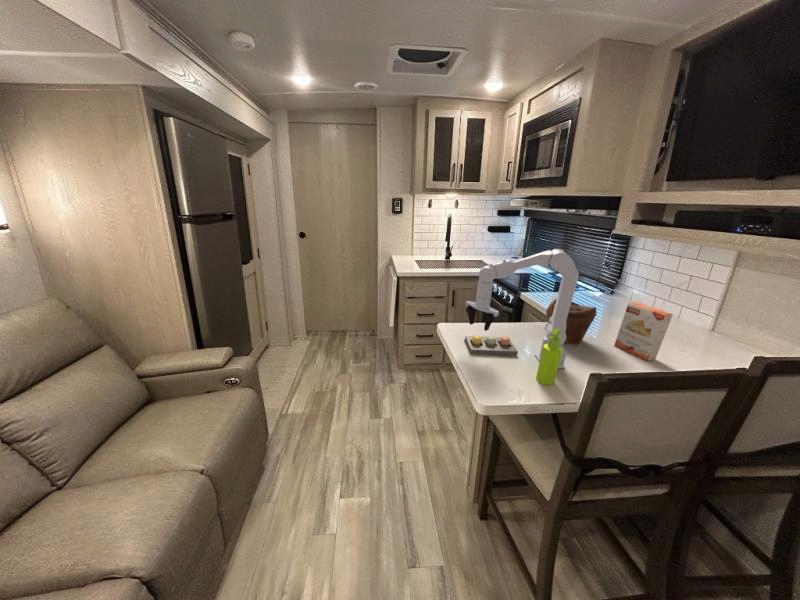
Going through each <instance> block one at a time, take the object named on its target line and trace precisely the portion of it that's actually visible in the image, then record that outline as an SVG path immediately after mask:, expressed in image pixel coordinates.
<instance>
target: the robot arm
mask: <svg viewBox="0 0 800 600" xmlns="http://www.w3.org/2000/svg"><path fill="white" fill-rule="evenodd" d="M538 265H539V266H543V267H546V268H549V265H550V267H551V268H552V269H553V270H554V271H556V272H558V273H559V274H560V275H561V276H562V277H561V281H560V284H559V288H558V292H557V296H556V299H557V300H556V303H555V307H554V311H553V315H552V316H551V317H549V321H548V322H547V323H546V324H545V327H544V330H545V333H546V334H545V335H544V336H543V338H542V342H541V346H540V351H539V353H536V354H535V353H534V356H535V358H537V360H538V361H539V362H540V359H541V354H542V350H543V346H544V345H545V344H548V343H549V338H550V337H551V336H553V335H552V334H550V332H551V331H552V330H553V329H555V328H558V329H561V330H562V331H561V332H560V333H559V337H558V338H560V339H561V341H560V345H559V347H560V348H562V354H561V358H560V362H559V365H558V369H566V366H565V361H566V358H567V351H566V350H565V348H564V343H565V341H566V333H565V331H566V320H567V316H568V312H569V309H570V305H571V302H573V298H574V294H575V290H576V286H577V285H578V282H579V281H578V280H579V277H580V274H579V271H578V269H577V267H576V264H575V262H574V260H573V258H572V257H570V256H569V254H567V253H566V251H564V250H563V249H562V248H554V249H552V250H544V251H541V252H539V253H536V254H532V255H529V256H527V257H524V258H521V259H518V260H513V261H512V260H511V259H502V261H500V262H497V263H494V264H493V263H490V264H489V265H484V266H482V267H481V268H480V270H479V273H478V278H479V279H478V281H477V282H478V283H477V287H476V294H475V301H471V300H467V301H465V307H467V308H465V311H466V314H467V316H468V320H469V325H473V324H475V321H476V314H477V311H481V312H484V313H486V314H485V315H484V329H483V330H484V331H485V332H487V331H489V329H490V327H491V324H492V323H493V321H494V320H495V318H497V317H498V316H499V315H500V311H499V310H497V309H495V308H493V307H491V306H490V305H491V300H492V299H491V298H492V292H493V287H494V286H493V281H494V280H495V279H501V278H505V277H508V276H512V275H514V274H515V272H516V271H517V270H521V269H526V268H529V267H535V266H538Z"/></svg>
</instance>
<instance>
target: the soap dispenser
mask: <svg viewBox="0 0 800 600" xmlns="http://www.w3.org/2000/svg"><path fill="white" fill-rule="evenodd" d="M561 331H562V330H561V329H558V328H555V329H553V330H552V331H551V332H550V334H552V335H553V336H551V337H550V338H549V343H548V344H545V345H544V346H543V350H542V354H541V359H540V361H539V363H538V368H537V372H536V375H535V379H536V381H537V382H538V383H540V384H542V385H544V386H545V385H546V386H552V385H554V384H555V381H556V380H555V379H556V377H557V372H558V370H559V368H558V365H559V362H560V358H561V354H562V348H560V347H559V345H560V341H561V339H560V338H558V337H559V333H560V332H561Z"/></svg>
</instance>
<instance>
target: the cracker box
mask: <svg viewBox="0 0 800 600" xmlns="http://www.w3.org/2000/svg"><path fill="white" fill-rule="evenodd" d="M672 318H673V313H671V312H668V311H665V310H662V309H658V308H656V307H653V306H650V305H647V304H643V303H641V302H637V301H633V302H629V303H627V306H626V308H625V312H624V315H623V318H622V320H621V324H620V327H619V329H618V333H617V336H616V338H615V343H614V345H613V346H614V347H616V348H619V349H620V350H622V351H625V352H627V353H629V354H631V355H633V356H636V357H637V358H639V359H642V360H644V361H646V362H649V361H652V360H656V358H657V356H658V353H659V351H660V348H661V345H662V343H663V341H664V339H665V336H666V333H667V331H668V328H669V326H670V324H671V321H672Z"/></svg>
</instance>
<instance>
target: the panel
mask: <svg viewBox="0 0 800 600" xmlns="http://www.w3.org/2000/svg"><path fill="white" fill-rule="evenodd" d="M472 336H473V335H465V337H464V342H465V344H466V345H467V348H468V351H469V354H471V355H489V356H490V355H493V356H516V357H517V356H518V353H519V350H518V349H517V348H516V347H515V345H514V344H513V342H512V341H511V340H510V345H509V347H502V346H500V338H501V336H500V337H497V336H494V337H495V338H496V344H495V346H487V345H486V338H487V336H481V337H482V342H481V346H478V345H472Z"/></svg>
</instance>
